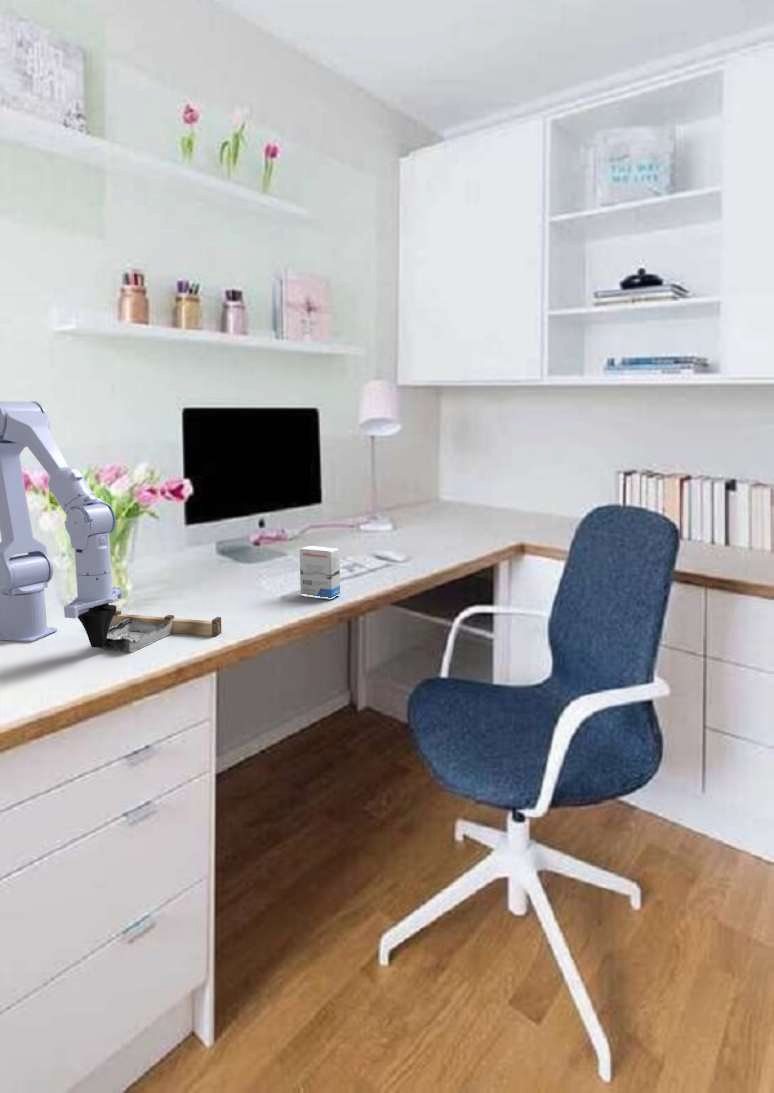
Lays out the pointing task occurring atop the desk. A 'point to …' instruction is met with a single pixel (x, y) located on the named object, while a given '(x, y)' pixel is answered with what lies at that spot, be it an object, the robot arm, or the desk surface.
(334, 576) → the ink box
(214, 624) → the ledge
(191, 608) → the desk surface
